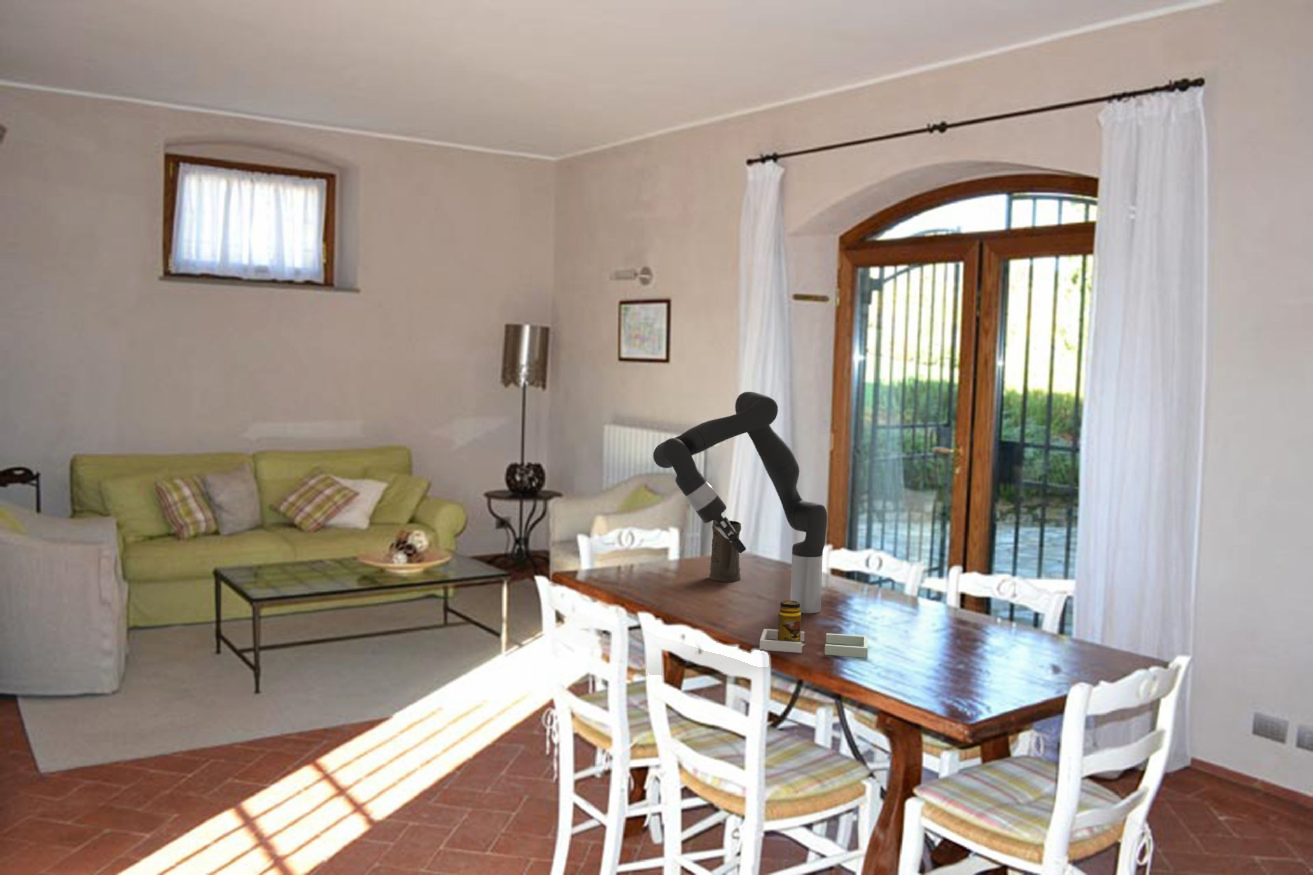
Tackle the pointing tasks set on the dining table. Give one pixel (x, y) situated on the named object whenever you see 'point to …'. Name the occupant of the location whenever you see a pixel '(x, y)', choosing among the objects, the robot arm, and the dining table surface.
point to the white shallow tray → (846, 650)
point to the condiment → (789, 622)
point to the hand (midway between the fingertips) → (741, 549)
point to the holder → (779, 642)
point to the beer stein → (724, 557)
